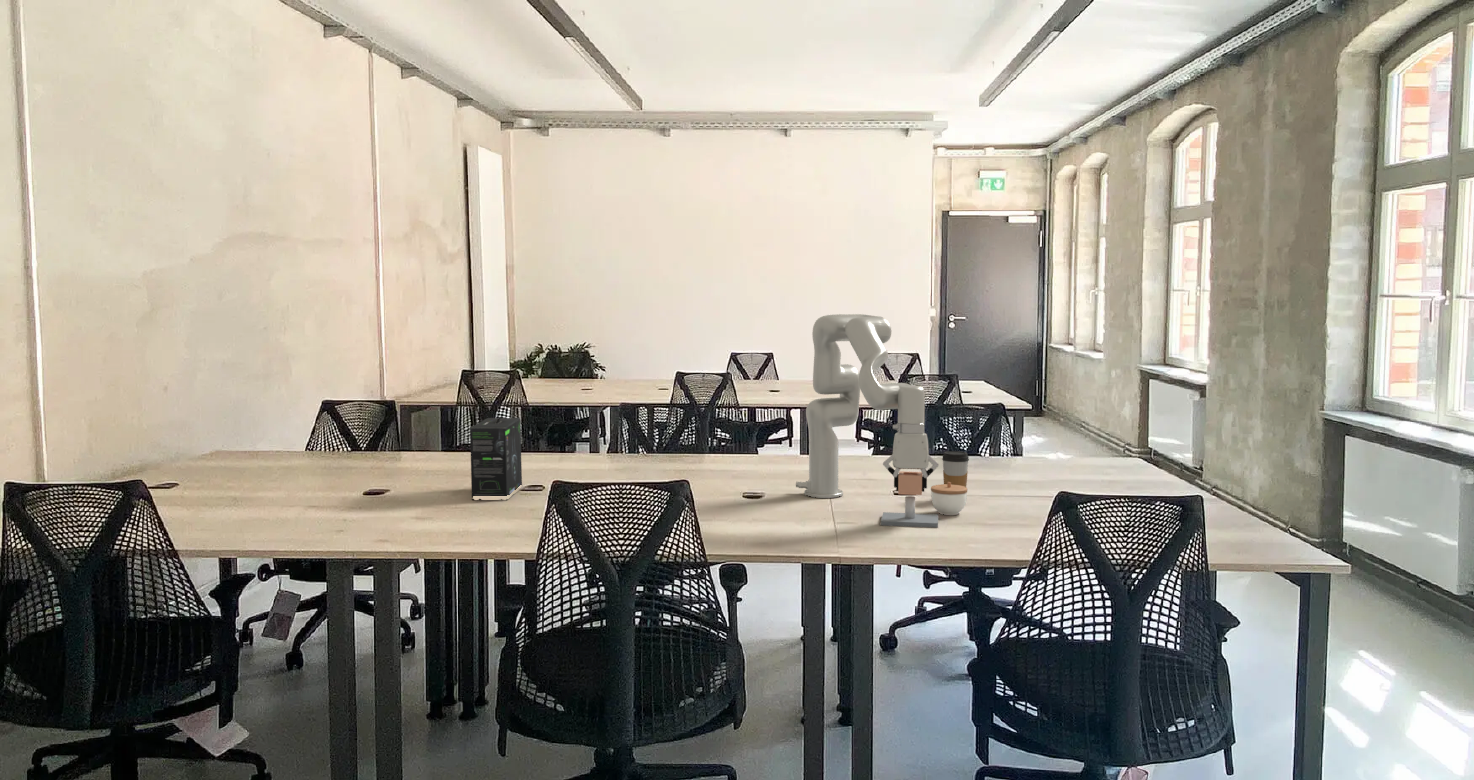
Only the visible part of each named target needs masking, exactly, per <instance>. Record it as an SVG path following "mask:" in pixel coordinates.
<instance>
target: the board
mask: <svg viewBox="0 0 1474 780" xmlns="http://www.w3.org/2000/svg"><path fill="white" fill-rule="evenodd" d="M904 501H905V502H904V503H905V504H904V512H888V511H887V512H885V511H884V512H882V515H881V518H880V519H881V520H880V526H887V527H888V526H889V527H890V526H891V527H892V526H894V527H912V528H913V527H917V528H919V527H921V528H938V527H939V513H937V514H936V513H916V496H914V495H909V496H907V495H906V496H905V498H904Z"/></svg>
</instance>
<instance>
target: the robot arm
mask: <svg viewBox="0 0 1474 780" xmlns="http://www.w3.org/2000/svg"><path fill="white" fill-rule="evenodd" d="M811 335H812V343H813V351H814V352H813V353H814V354H813V355H814V356H813V371H812V387H813V391H815V393H816V394H818V395H823V396H824V395H827V396H828V395H839V397H821V398H816V399H814V400H811V401H810V402H809V403H808V404H807V406H806V408H805V416H806V422H807V427H808V442H809V443H808V449H809V450H808V453H809V454H808V455H809V456H808V459H809V460H808V468H809V469H808V480H805V481H796V482H795V488H798V489H805V490H804V491H803V492H804V493H803V494H804V495H805V496H806V495H808V496H807V497H809V496H811V497H810V498H815V497H816V499H817V498H818V499H833V498H839V496H840V497H842V496H843V495H844V491H843V490H842V489H840V488H839V439H838V436H837V434H836V433H835V431H834V429H833V428H836V427H848V426H852V425H854V424H855V423H856V422H857V420H858V418H859V412H860V411H859V409H860V397H861V394H862V395H863V397H864V399H865V400H866V402H867V404H868V405H869V407H871V408H873V409H874V410H877V411H881V410H882V411H883V410H897V423H895V424H892V430H896V431H897V432H896V433H895V434H894V436H893V437H894V438H893V444H892V454H891V455H890V456H889V457H888V458H886V459H885V460H884V461H883V463H882V465H883V467H884V468H885V469H887V471H888V472H889V473H890V474H891V475H892V476H893V488H895V489H896V492H898V475H899V471H901V470H920V472H922V493H924V492H925V489H928V477H929V476H931V474H933V472H934V471H935V470H936V469H938V467H939V463H938V462H937V461H936V460H935V459H934V458H933V457H932V456H931V455H930V454H929V451H930V450H929V440H928V434H927V433H926V432H925V413H926V412H925V411H926V410H925V407H926V405H925V403H926V401H925V399H926V398H925V397H926V395H925V389H924V387H923V386H920V385H912V384H909V383H907V382H897V383H896V382H895V383H894V382H893V383H892V382H891V383H890V382H889V383H879V381H877V378H876V376H875V375H874V371H876V370H878V369H880V368H881V367H882V366H883V365H884V364H885V363H886V361H887V360H888V357H889V352H888V350H887V349H886V347H885V345H884V344H886V343H887V342H889V341H890V339H891V337H892V327H891V324H890V322H889V321H888V320H887V319H886V318H885V317H883V316H879V315H877V316H876V315H868V314H863V313H862V314H859V313H857V314H856V313H855V314H854V313H853V314H840V313H839V314H826V315H823V316H820V317H819V318H817V319H816V320H815V322H814V324H813V327H812V334H811ZM837 342H849V343H850V345H851V346H852V349H853V351H854V352H855V354H856V356H857V359H858V360H859V362H860V364H861V367H860V369H859V370H858V368H857V367H856V366H855V365H852V364H846V363H845V364H841V359H842V358H841V357H842V354H841V353H842V352H841V349H840V347H839V345H838V343H837ZM891 462H892V466H893V467H894V468H895V469H894V468H893V467H892V466H891V465H890V463H891ZM929 463H930V464H931V466H930V468H928V467H929Z"/></svg>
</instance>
